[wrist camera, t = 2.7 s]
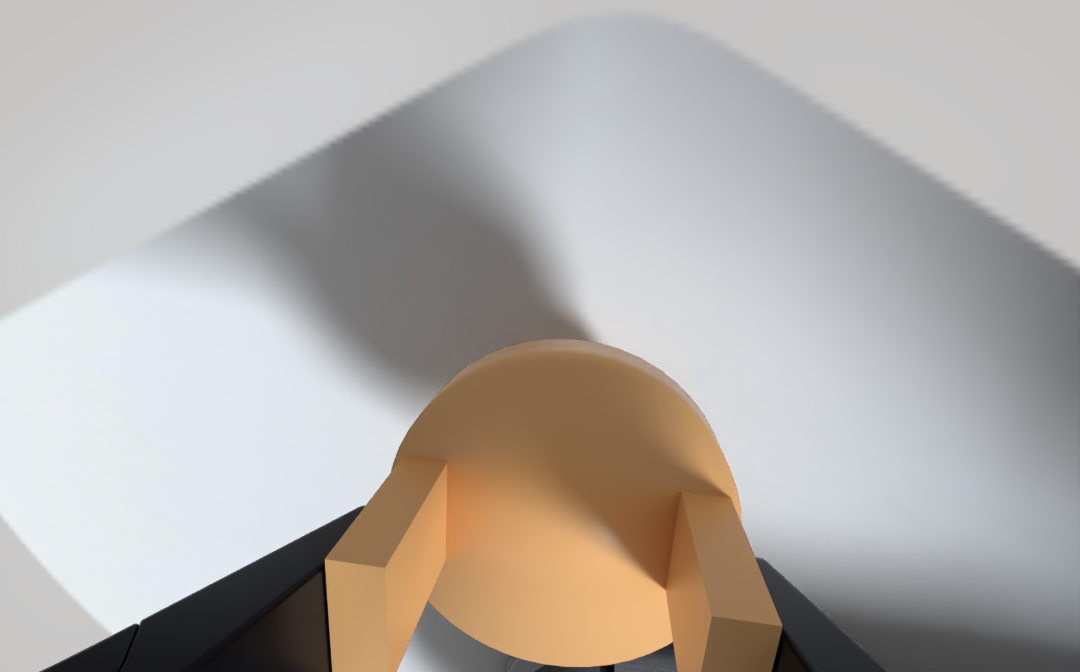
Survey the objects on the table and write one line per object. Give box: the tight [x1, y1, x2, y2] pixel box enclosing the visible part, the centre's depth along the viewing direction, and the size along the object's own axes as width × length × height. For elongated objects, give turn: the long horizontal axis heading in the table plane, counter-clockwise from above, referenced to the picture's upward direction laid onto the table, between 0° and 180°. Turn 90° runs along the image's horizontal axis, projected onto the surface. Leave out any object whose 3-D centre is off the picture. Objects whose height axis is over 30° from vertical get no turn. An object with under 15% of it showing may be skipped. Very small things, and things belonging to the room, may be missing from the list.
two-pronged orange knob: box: [325, 338, 783, 672], centre depth 9 cm, size 6×6×6 cm
